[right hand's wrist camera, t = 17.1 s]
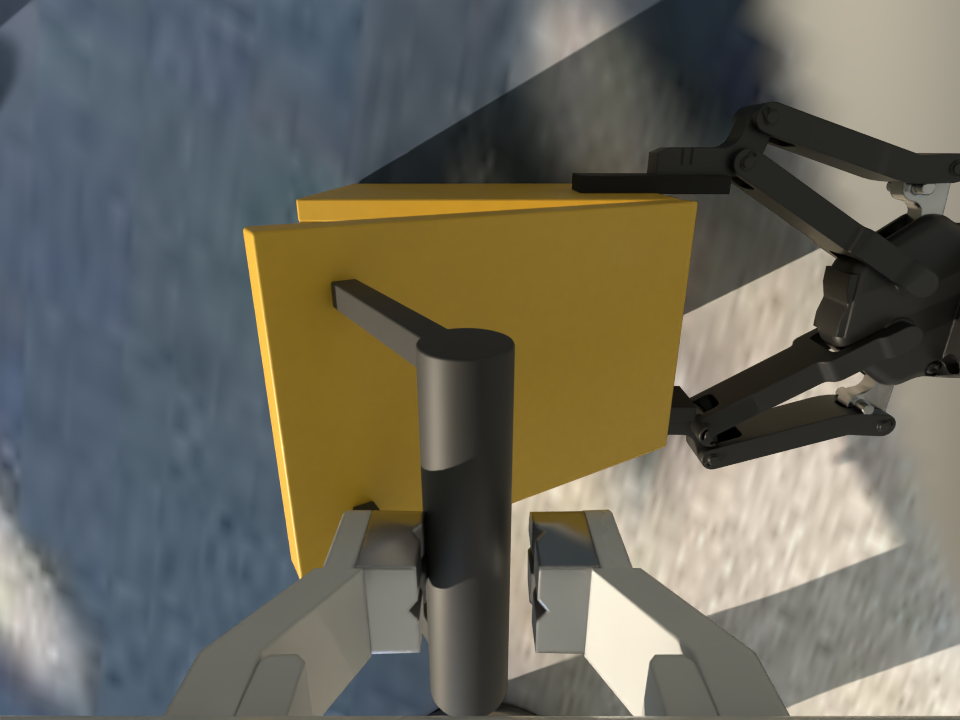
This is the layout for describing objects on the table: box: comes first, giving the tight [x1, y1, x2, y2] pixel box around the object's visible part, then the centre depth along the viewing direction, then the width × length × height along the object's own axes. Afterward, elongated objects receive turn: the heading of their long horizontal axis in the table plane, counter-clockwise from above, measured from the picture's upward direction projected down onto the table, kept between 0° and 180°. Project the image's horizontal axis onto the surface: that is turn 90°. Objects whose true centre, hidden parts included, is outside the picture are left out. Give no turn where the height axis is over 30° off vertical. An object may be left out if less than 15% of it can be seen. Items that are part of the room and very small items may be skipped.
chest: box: [297, 183, 679, 223], centre depth 29 cm, size 15×10×11 cm
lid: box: [243, 199, 698, 716], centre depth 16 cm, size 16×10×8 cm, turn 89°
